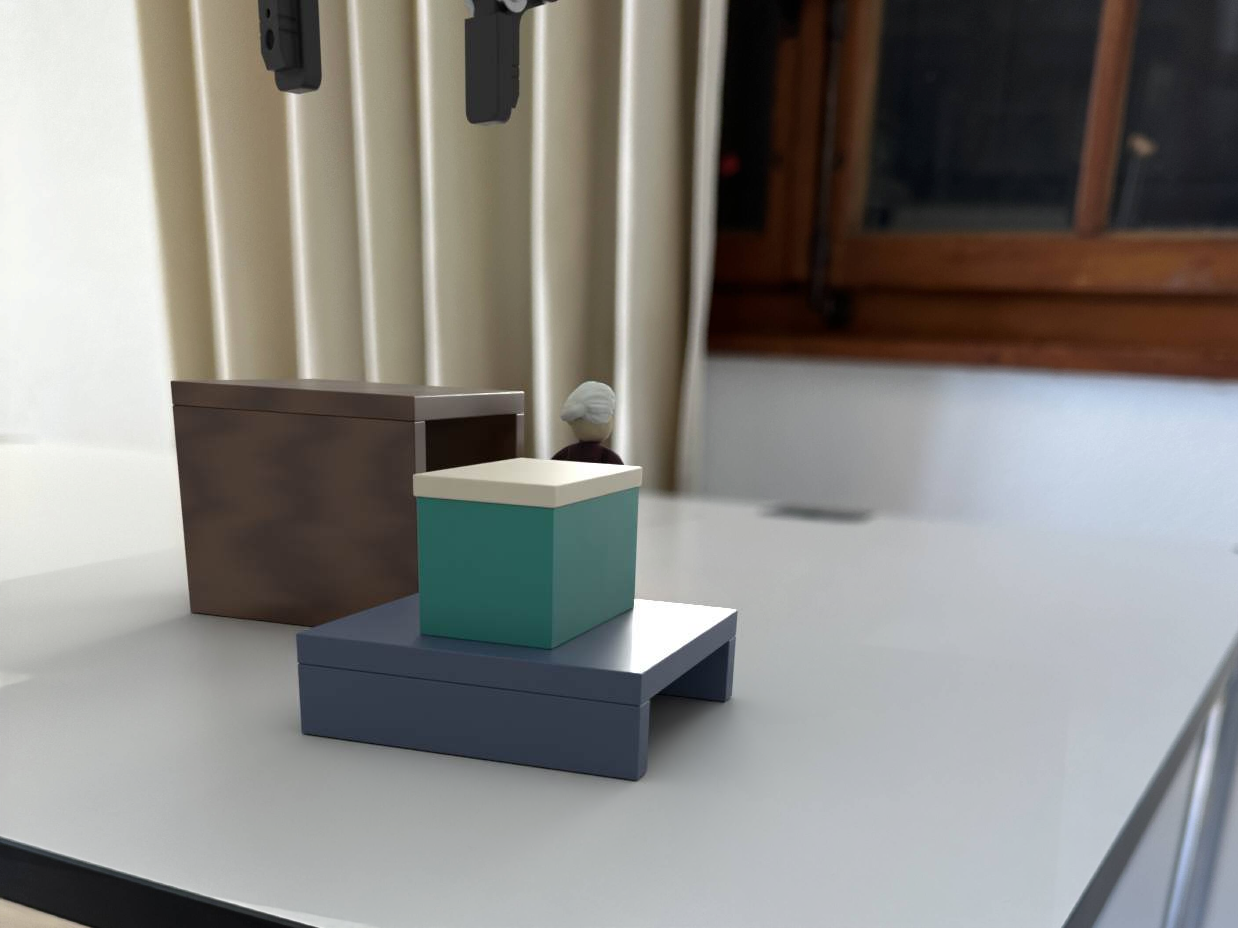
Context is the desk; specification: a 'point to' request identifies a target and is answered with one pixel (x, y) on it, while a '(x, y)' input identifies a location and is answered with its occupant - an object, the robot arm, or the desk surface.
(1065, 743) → the desk surface
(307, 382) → the high shelf
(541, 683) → the low shelf
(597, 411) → the grandmother figurine
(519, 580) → the box
